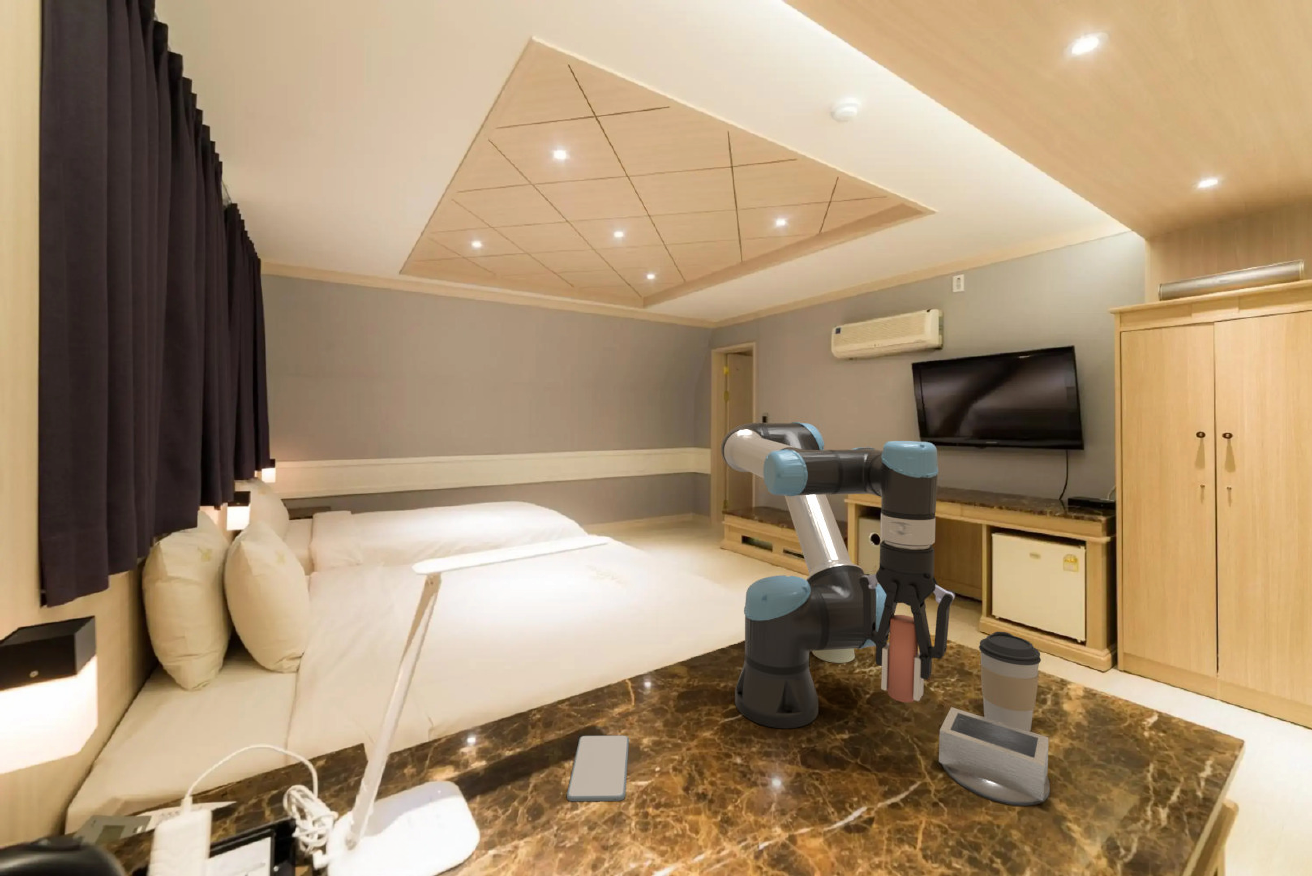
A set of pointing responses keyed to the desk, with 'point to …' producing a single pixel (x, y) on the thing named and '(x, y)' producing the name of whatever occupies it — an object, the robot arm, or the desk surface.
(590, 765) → the smartphone
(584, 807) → the desk surface
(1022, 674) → the coffee cup
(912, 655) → the pin
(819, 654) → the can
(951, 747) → the rosette bracket
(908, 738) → the desk surface
